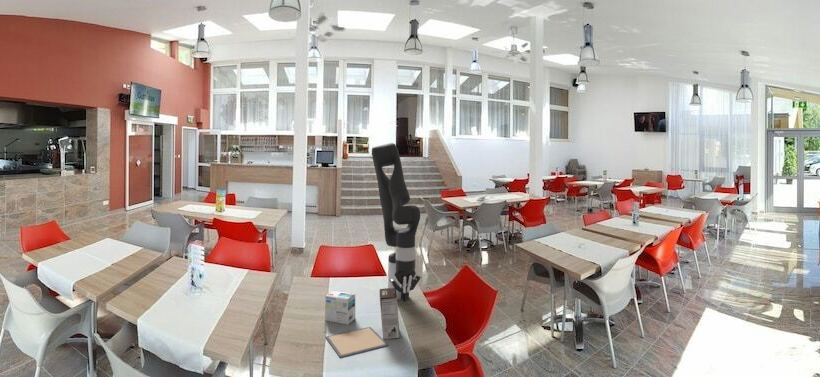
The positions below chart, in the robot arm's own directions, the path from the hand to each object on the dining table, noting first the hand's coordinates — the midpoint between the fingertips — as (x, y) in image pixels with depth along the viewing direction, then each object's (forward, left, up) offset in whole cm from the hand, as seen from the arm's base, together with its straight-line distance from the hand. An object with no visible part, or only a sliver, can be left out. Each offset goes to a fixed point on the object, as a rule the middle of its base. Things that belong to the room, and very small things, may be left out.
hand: (404, 301), depth 151 cm
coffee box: (+6, 0, -12) cm, 13 cm away
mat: (+20, 0, -12) cm, 23 cm away
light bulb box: (+19, -20, -12) cm, 30 cm away
